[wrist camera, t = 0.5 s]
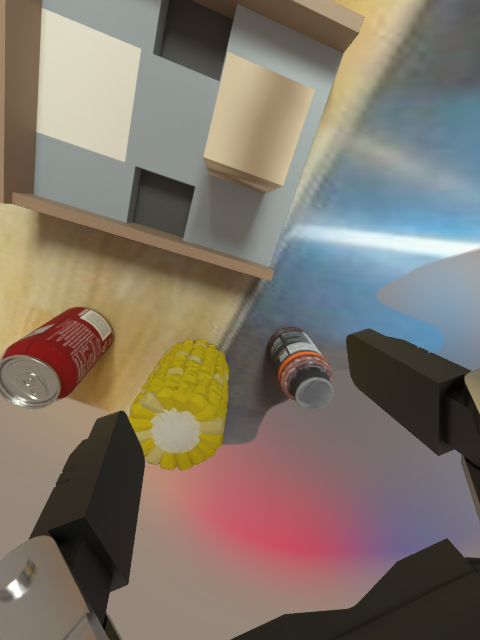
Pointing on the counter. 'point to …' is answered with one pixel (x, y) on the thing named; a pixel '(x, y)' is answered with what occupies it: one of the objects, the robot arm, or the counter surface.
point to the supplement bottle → (301, 368)
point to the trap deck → (154, 114)
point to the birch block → (255, 125)
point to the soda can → (53, 358)
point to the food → (183, 406)
